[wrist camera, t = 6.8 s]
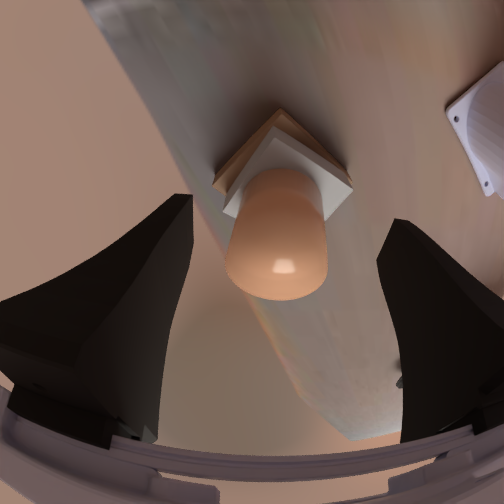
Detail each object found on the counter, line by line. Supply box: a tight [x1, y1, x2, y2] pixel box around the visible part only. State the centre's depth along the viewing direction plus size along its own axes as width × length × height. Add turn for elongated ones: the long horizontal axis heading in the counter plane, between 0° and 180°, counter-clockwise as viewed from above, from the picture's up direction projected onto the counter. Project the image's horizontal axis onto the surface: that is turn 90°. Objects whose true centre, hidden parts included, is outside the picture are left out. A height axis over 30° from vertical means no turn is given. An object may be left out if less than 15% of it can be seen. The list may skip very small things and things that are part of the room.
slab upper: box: [223, 126, 353, 221], centre depth 18 cm, size 6×6×2 cm
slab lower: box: [212, 108, 353, 196], centre depth 19 cm, size 6×6×2 cm
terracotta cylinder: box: [225, 168, 328, 300], centre depth 15 cm, size 5×5×5 cm
